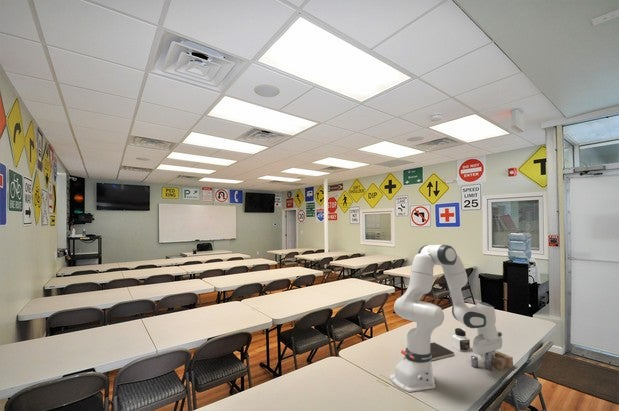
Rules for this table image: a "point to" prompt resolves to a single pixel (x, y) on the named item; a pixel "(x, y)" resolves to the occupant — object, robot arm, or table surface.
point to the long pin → (488, 361)
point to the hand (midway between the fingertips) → (487, 359)
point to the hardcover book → (439, 351)
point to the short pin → (474, 361)
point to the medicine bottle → (460, 340)
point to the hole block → (502, 361)
